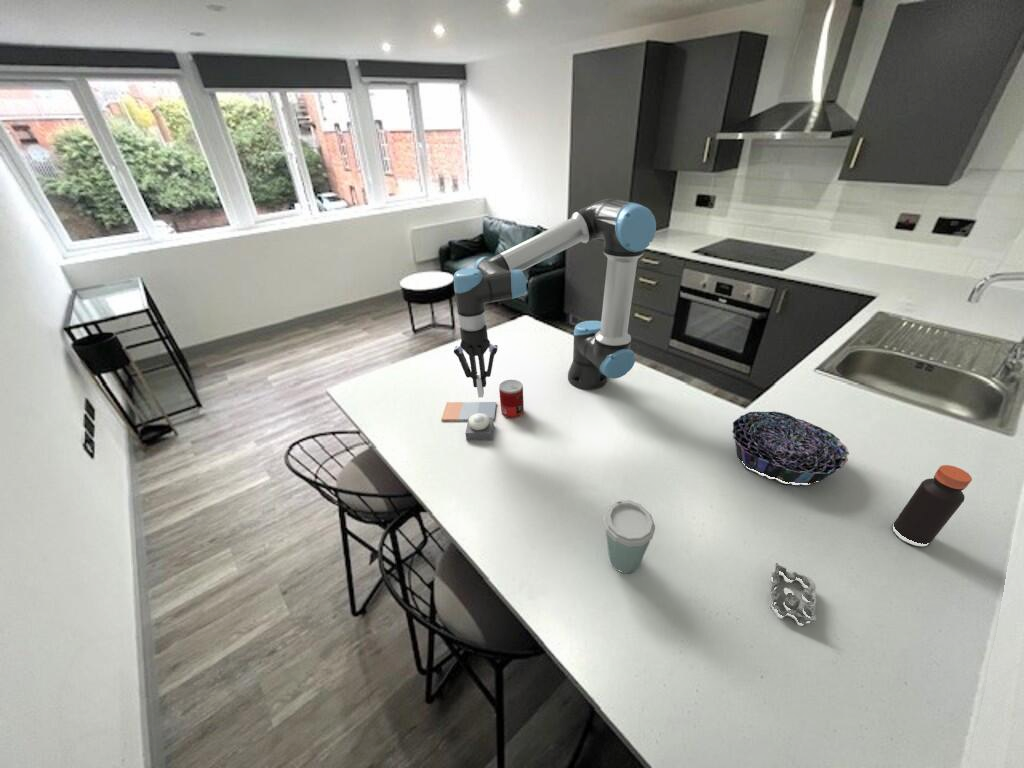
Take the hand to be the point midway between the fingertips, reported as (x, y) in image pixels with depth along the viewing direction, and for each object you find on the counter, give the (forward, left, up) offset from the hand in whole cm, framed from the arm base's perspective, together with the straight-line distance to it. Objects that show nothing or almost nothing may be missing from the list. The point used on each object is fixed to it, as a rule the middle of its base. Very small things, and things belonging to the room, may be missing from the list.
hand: (481, 394), depth 128 cm
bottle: (-104, +39, -14) cm, 112 cm away
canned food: (-9, -10, -14) cm, 19 cm away
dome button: (+1, +1, -13) cm, 13 cm away
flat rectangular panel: (+6, -10, -14) cm, 18 cm away
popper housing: (+1, +1, -14) cm, 14 cm away
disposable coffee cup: (-37, +47, -14) cm, 61 cm away
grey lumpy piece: (-69, +55, -14) cm, 90 cm away
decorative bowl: (-86, +14, -14) cm, 88 cm away
